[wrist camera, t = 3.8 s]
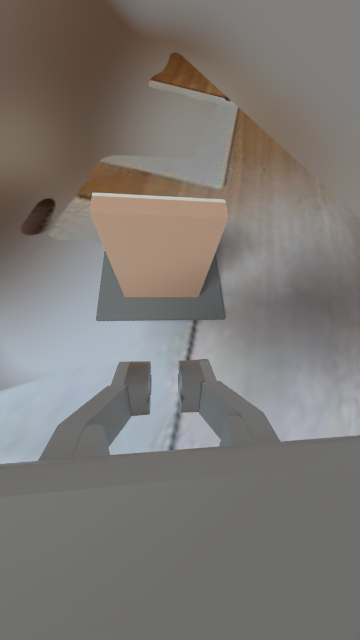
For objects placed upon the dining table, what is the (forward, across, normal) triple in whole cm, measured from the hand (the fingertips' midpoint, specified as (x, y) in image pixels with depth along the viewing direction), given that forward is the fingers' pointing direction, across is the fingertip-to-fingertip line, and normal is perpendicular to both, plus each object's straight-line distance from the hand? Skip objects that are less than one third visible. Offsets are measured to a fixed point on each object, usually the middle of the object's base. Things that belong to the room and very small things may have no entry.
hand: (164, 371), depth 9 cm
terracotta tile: (+22, 0, +2) cm, 22 cm away
